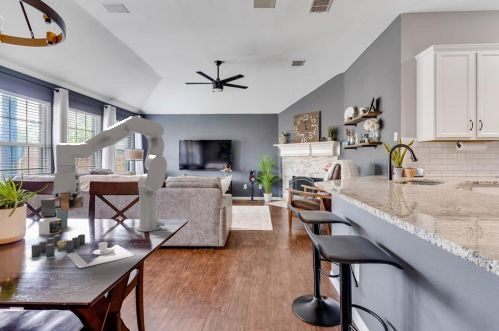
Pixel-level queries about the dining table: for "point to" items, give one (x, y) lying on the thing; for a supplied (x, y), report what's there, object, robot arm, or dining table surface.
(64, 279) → the dining table surface
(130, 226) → the dining table surface
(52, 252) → the board
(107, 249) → the teacup and saucer
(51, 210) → the wooden toy mallet
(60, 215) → the grey cup
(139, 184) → the robot arm
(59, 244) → the brass nut
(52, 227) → the medicine bottle
